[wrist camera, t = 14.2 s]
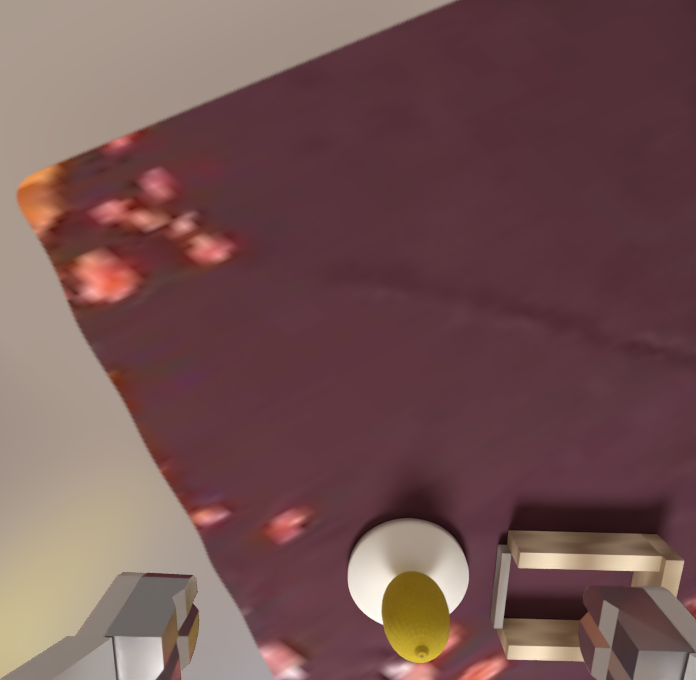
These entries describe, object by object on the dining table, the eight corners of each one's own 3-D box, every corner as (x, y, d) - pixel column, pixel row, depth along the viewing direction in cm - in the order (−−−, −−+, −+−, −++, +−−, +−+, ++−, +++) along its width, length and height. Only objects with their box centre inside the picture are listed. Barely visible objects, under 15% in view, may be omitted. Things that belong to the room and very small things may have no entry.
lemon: (409, 540, 41) (422, 612, 33) (452, 577, 42) (475, 656, 34) (366, 578, 42) (369, 657, 34) (408, 614, 43) (421, 698, 35)
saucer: (470, 519, 42) (473, 526, 41) (461, 621, 44) (463, 630, 43) (349, 516, 42) (349, 523, 41) (346, 618, 44) (346, 627, 43)
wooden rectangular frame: (657, 534, 42) (684, 560, 38) (637, 634, 44) (661, 668, 41) (499, 530, 42) (512, 556, 39) (488, 631, 44) (499, 664, 41)
